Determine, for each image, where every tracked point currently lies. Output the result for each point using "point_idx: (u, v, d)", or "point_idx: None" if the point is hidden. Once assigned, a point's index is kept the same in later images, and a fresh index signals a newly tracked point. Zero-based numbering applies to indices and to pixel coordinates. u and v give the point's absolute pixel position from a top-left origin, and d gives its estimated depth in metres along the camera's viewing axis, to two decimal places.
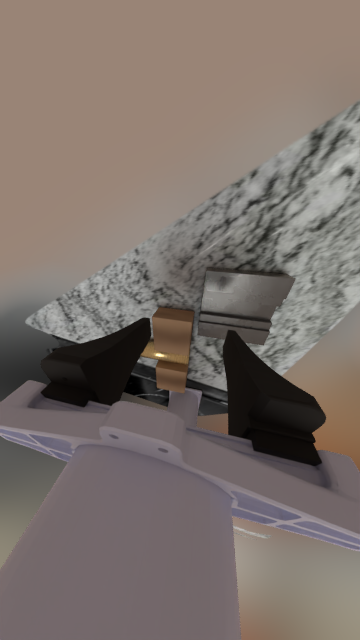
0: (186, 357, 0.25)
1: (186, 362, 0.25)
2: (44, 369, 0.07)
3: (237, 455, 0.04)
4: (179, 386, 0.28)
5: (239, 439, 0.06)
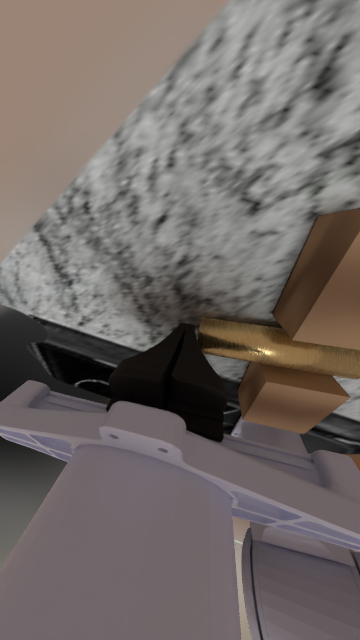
0: None
1: None
2: (111, 384, 0.06)
3: (236, 455, 0.04)
4: (302, 421, 0.13)
5: None
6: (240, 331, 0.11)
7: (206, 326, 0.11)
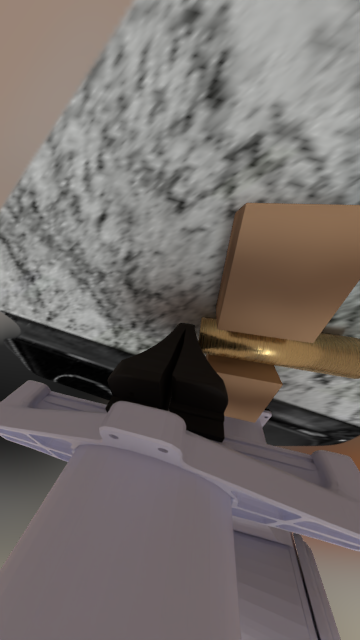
0: None
1: None
2: (110, 384, 0.06)
3: (237, 455, 0.04)
4: (249, 410, 0.14)
5: None
6: None
7: (207, 326, 0.11)
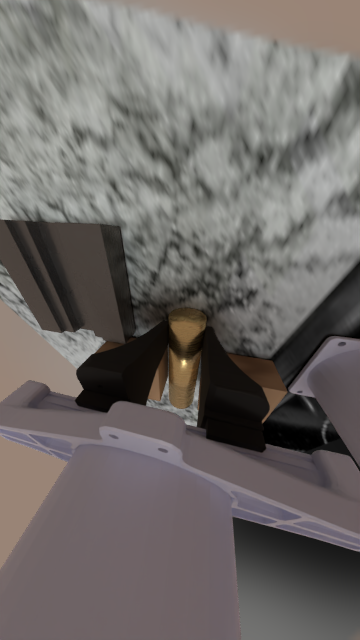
0: (173, 326, 0.11)
1: (183, 329, 0.11)
2: (79, 377, 0.06)
3: (237, 455, 0.04)
4: None
5: (195, 428, 0.06)
6: (169, 382, 0.16)
7: (169, 395, 0.17)
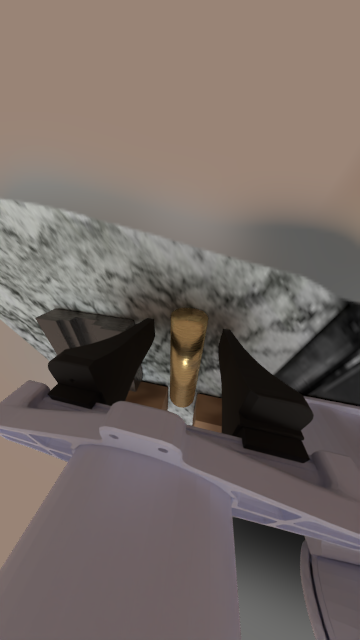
0: (176, 326, 0.11)
1: (187, 328, 0.11)
2: (51, 371, 0.07)
3: (236, 455, 0.04)
4: None
5: (229, 437, 0.06)
6: (170, 382, 0.16)
7: (170, 395, 0.18)
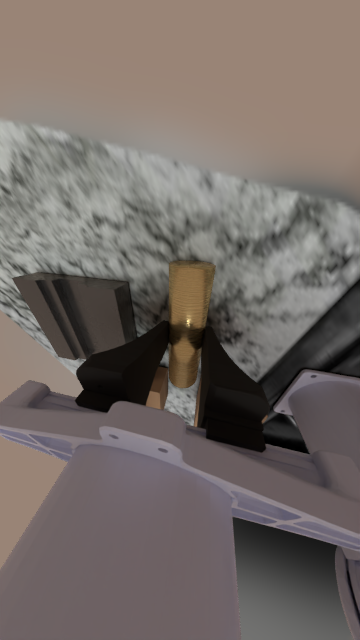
0: (174, 272, 0.09)
1: (187, 273, 0.08)
2: (79, 377, 0.06)
3: (236, 455, 0.04)
4: None
5: (194, 428, 0.06)
6: (169, 357, 0.14)
7: (169, 374, 0.15)
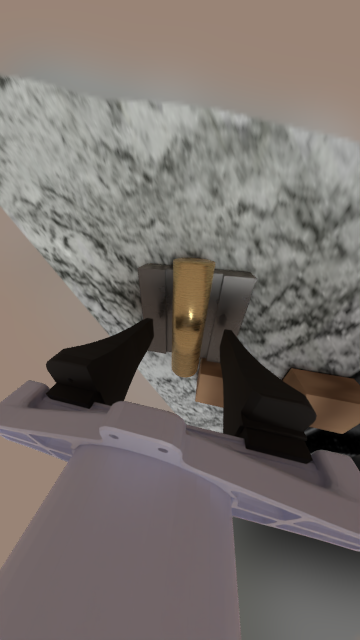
0: (179, 268, 0.10)
1: (192, 268, 0.09)
2: (49, 370, 0.07)
3: (237, 455, 0.04)
4: (350, 409, 0.15)
5: (232, 437, 0.06)
6: (172, 349, 0.15)
7: (172, 365, 0.16)
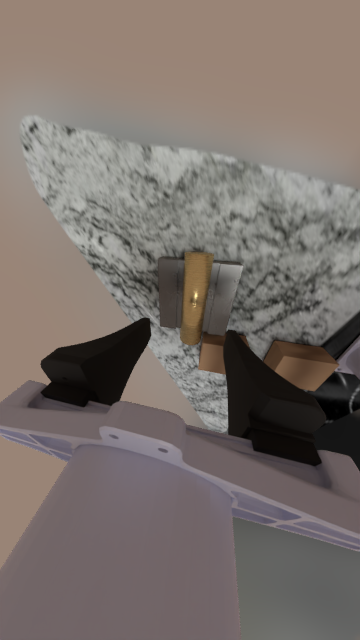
0: (189, 257, 0.14)
1: (198, 257, 0.14)
2: (44, 369, 0.07)
3: (237, 455, 0.04)
4: (316, 367, 0.19)
5: (239, 439, 0.06)
6: (181, 322, 0.19)
7: (180, 336, 0.21)
